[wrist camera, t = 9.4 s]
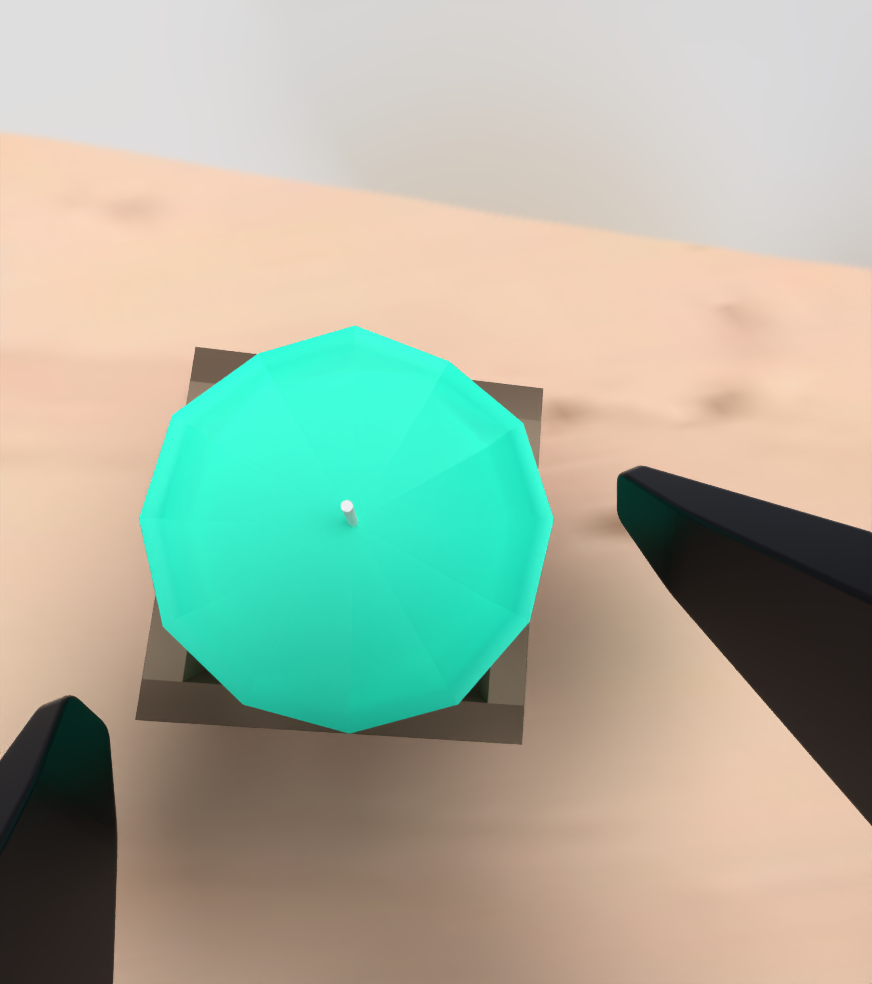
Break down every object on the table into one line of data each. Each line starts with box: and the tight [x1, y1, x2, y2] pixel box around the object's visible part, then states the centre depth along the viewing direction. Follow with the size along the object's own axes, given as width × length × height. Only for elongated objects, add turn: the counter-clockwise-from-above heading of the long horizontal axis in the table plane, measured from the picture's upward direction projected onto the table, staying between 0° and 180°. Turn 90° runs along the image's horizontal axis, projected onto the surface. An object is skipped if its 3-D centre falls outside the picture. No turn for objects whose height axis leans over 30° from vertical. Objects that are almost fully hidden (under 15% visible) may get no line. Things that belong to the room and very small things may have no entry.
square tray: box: [135, 347, 543, 745], centre depth 18 cm, size 10×10×4 cm
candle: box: [139, 326, 554, 734], centre depth 13 cm, size 6×6×12 cm
